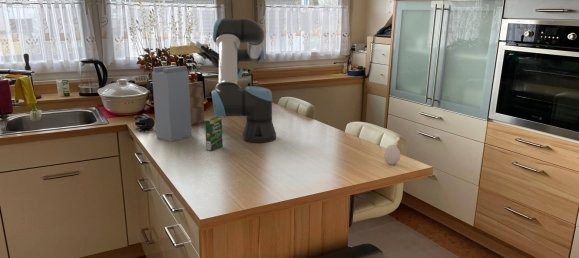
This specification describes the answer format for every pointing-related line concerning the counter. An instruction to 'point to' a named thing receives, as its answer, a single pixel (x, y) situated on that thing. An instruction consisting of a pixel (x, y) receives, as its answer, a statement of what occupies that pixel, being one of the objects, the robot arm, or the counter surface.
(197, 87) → the tall brown block
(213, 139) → the coffee box
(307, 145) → the counter surface
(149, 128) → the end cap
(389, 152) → the egg
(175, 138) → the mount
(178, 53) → the cream long bar
